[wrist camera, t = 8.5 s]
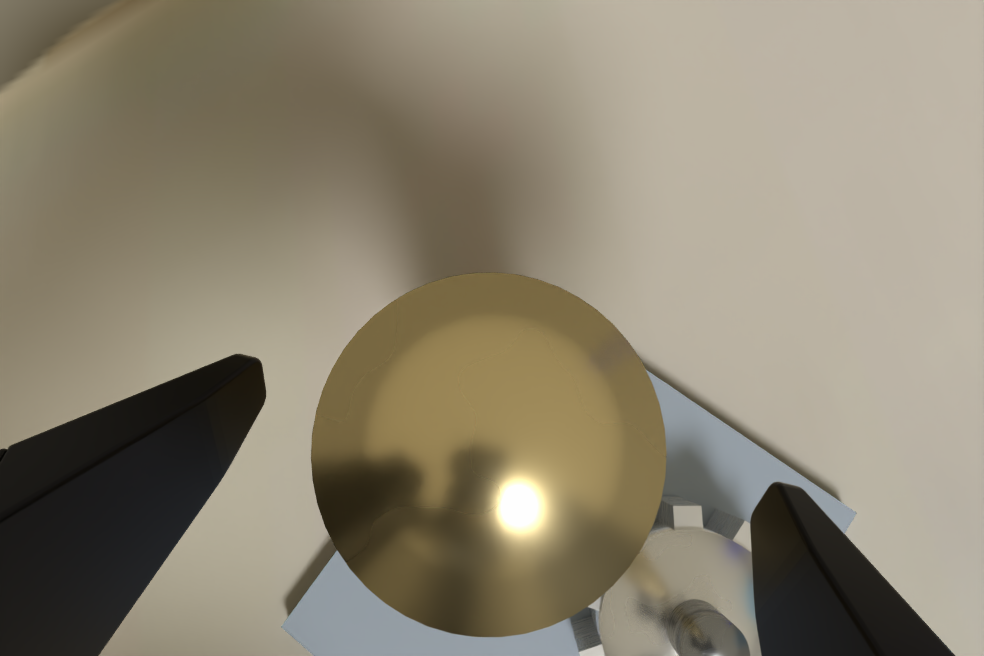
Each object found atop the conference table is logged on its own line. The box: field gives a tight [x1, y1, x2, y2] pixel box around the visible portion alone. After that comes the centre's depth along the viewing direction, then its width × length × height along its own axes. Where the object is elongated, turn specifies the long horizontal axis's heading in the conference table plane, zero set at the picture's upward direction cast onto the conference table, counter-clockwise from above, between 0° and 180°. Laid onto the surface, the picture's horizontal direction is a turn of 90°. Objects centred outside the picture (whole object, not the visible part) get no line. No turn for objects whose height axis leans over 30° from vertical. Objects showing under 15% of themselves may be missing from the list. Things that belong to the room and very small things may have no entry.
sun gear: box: [571, 496, 762, 656], centre depth 15 cm, size 6×6×4 cm
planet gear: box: [311, 272, 667, 637], centre depth 12 cm, size 7×7×13 cm
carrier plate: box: [281, 370, 856, 656], centre depth 18 cm, size 14×13×1 cm
